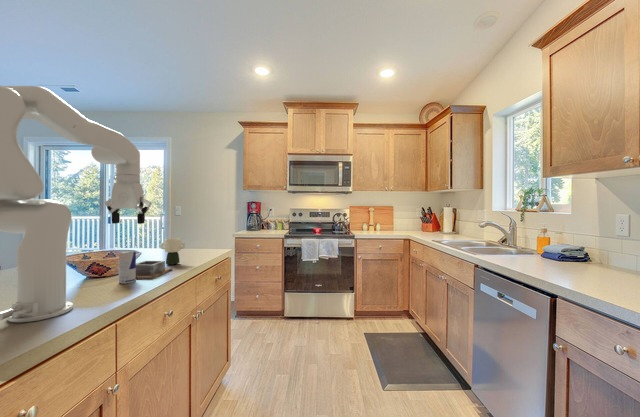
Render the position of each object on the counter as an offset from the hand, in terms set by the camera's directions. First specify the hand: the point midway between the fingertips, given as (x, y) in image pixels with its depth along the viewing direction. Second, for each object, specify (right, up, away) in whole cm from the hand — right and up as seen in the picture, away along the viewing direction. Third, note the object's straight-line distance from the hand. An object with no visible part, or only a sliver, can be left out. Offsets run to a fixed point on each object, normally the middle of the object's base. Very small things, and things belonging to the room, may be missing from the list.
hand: (128, 223), depth 106 cm
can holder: (0, -23, +12) cm, 26 cm away
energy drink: (0, -23, 0) cm, 23 cm away
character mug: (0, -23, +32) cm, 39 cm away
